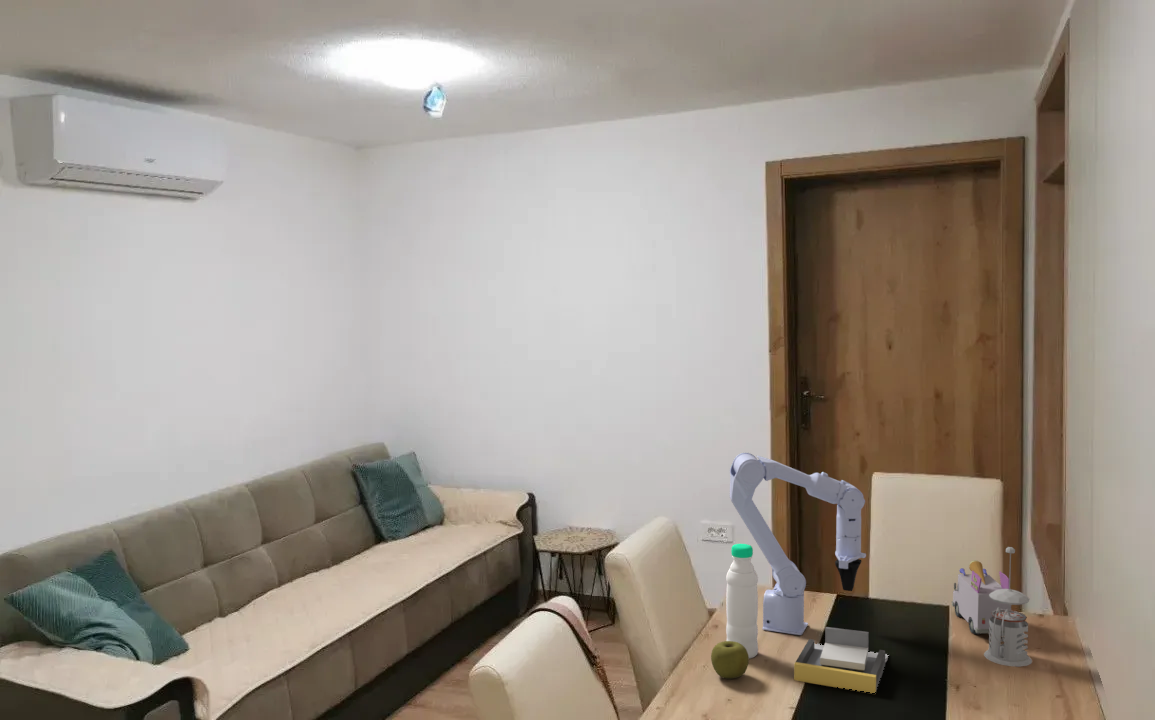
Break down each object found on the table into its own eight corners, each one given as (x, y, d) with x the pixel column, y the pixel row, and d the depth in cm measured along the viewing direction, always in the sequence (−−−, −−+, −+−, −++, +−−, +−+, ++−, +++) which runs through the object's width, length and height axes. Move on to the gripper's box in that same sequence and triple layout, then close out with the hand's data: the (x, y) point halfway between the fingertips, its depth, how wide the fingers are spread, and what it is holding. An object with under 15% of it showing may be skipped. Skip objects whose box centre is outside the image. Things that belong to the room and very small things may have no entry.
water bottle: (761, 650, 211) (761, 543, 209) (753, 662, 204) (753, 551, 202) (730, 646, 214) (730, 539, 212) (722, 657, 207) (722, 547, 205)
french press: (1038, 656, 205) (1041, 546, 204) (1021, 673, 197) (1024, 558, 195) (992, 645, 212) (995, 538, 210) (973, 660, 204) (976, 549, 202)
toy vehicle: (986, 612, 233) (987, 554, 232) (1015, 642, 214) (1016, 578, 213) (948, 611, 234) (949, 553, 233) (973, 641, 215) (975, 577, 214)
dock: (794, 683, 195) (794, 664, 194) (815, 646, 215) (815, 628, 214) (875, 697, 188) (875, 677, 187) (889, 657, 208) (889, 639, 207)
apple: (704, 673, 199) (704, 641, 198) (736, 667, 202) (736, 635, 201) (723, 687, 192) (723, 653, 191) (755, 680, 195) (756, 647, 194)
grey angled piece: (820, 671, 195) (820, 643, 195) (825, 653, 205) (825, 626, 204) (864, 677, 192) (864, 648, 192) (868, 659, 201) (868, 632, 201)
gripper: (861, 544, 214) (860, 601, 215) (870, 529, 227) (869, 583, 228) (830, 540, 217) (829, 597, 218) (840, 526, 230) (840, 579, 231)
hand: (848, 589), depth 223 cm, fingers closed
